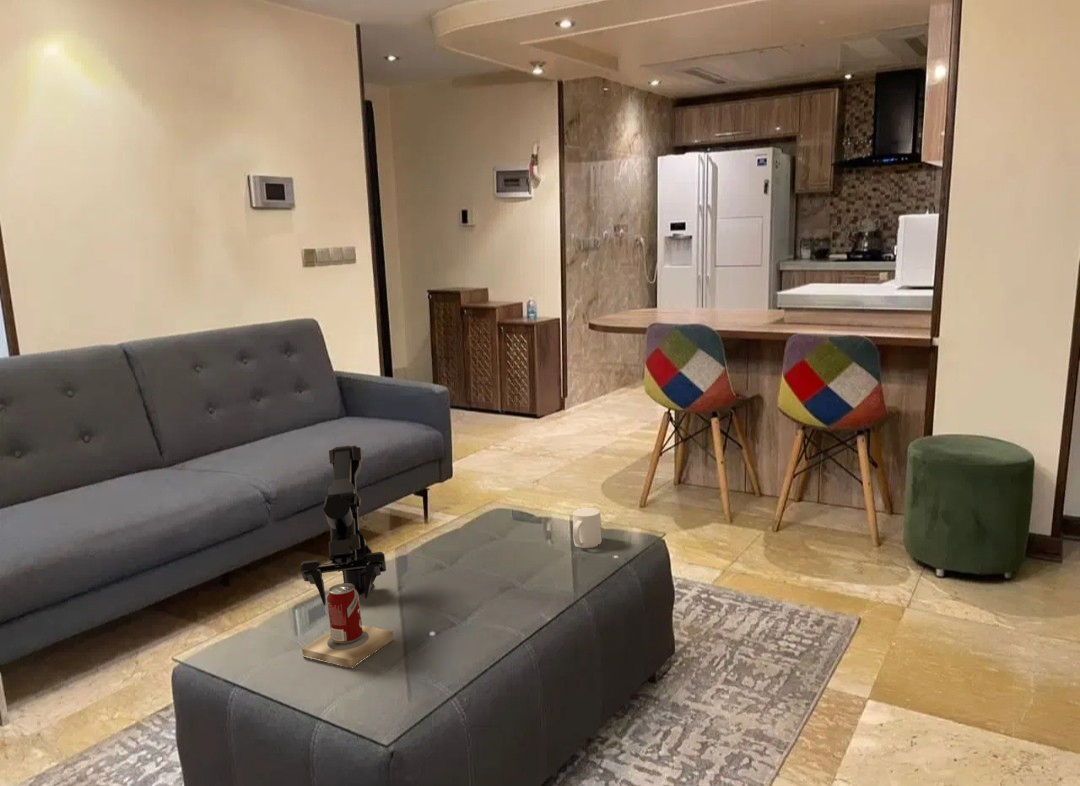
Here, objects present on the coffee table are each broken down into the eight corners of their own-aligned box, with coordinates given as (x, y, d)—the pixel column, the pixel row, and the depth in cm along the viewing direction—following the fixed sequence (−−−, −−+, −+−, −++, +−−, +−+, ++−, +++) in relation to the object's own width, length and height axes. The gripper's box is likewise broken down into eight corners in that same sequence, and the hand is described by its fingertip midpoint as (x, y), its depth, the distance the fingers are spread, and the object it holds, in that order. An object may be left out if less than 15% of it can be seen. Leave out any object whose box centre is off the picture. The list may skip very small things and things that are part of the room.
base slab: (303, 657, 177) (302, 648, 176) (346, 629, 189) (345, 621, 188) (352, 668, 170) (350, 659, 170) (393, 639, 182) (392, 630, 182)
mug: (581, 505, 240) (605, 508, 236) (583, 535, 241) (607, 538, 237) (562, 518, 229) (587, 521, 225) (564, 549, 231) (589, 552, 227)
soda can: (343, 648, 174) (337, 596, 172) (325, 640, 179) (319, 590, 177) (369, 636, 179) (363, 585, 177) (351, 629, 184) (345, 579, 182)
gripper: (296, 528, 182) (296, 594, 173) (380, 518, 185) (384, 582, 176) (304, 549, 191) (305, 612, 182) (384, 539, 194) (388, 601, 185)
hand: (345, 601), depth 181 cm, fingers open, 9 cm apart
